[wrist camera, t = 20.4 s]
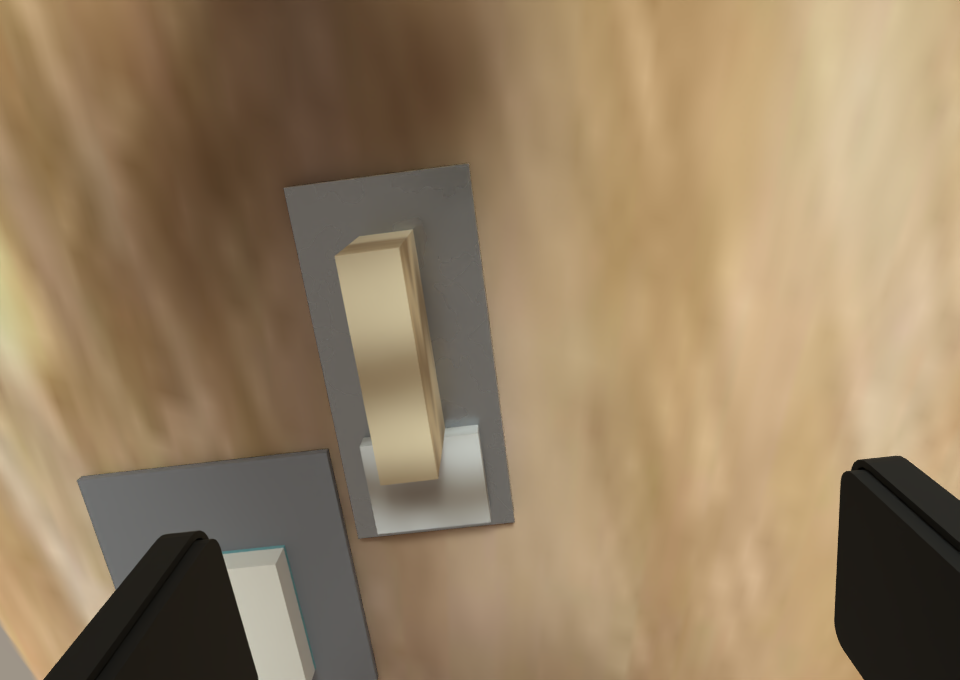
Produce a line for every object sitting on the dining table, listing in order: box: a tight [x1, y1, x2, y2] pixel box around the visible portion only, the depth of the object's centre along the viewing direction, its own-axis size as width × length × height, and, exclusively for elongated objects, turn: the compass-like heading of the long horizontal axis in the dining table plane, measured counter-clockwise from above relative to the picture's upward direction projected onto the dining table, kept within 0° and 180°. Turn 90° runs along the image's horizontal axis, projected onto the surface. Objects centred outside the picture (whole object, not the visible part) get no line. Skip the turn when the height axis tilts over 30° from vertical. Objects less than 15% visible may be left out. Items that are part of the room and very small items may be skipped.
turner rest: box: [284, 163, 514, 539], centre depth 38 cm, size 22×10×1 cm, turn 7°
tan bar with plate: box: [335, 229, 491, 534], centre depth 35 cm, size 18×7×6 cm, turn 7°
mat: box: [77, 449, 378, 680], centre depth 43 cm, size 18×16×1 cm
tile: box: [222, 545, 316, 680], centre depth 43 cm, size 2×8×10 cm
